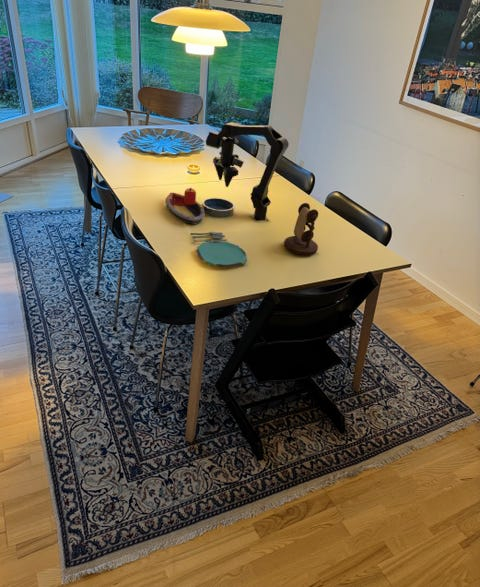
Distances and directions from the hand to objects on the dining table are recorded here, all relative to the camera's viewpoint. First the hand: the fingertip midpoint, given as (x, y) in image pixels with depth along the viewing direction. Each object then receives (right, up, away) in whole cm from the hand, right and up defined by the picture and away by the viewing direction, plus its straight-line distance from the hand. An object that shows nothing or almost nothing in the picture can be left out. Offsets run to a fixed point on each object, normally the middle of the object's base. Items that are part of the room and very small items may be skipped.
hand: (223, 183), depth 217 cm
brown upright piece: (+34, -34, -22) cm, 53 cm away
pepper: (-16, -10, -6) cm, 20 cm away
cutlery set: (-1, -36, -33) cm, 49 cm away
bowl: (-3, -14, +1) cm, 14 cm away
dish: (-18, -16, -6) cm, 25 cm away
